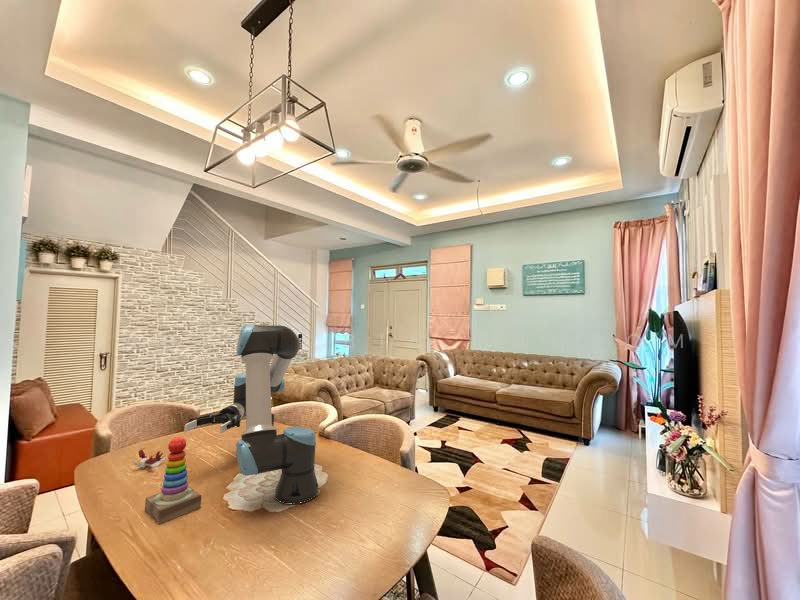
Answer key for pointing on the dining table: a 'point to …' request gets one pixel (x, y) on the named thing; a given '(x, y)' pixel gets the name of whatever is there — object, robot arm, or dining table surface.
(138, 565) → the dining table surface
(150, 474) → the dining table surface
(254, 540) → the dining table surface
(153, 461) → the figurine
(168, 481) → the stacking toy
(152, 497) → the walnut plinth
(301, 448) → the robot arm
